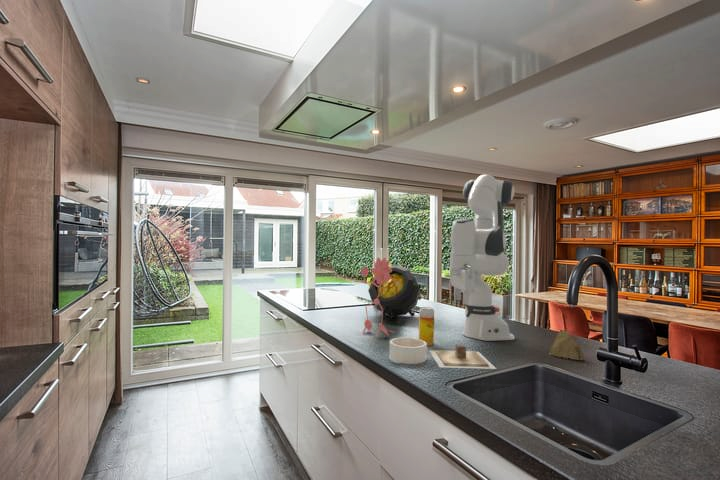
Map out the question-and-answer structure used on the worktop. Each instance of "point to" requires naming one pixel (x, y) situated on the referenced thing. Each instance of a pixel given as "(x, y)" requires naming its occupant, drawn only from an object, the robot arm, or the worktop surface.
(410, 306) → the cauldron
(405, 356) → the bowl
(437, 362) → the mat
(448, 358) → the lid
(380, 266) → the figurine
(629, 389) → the worktop surface
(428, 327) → the beer can
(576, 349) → the rock
